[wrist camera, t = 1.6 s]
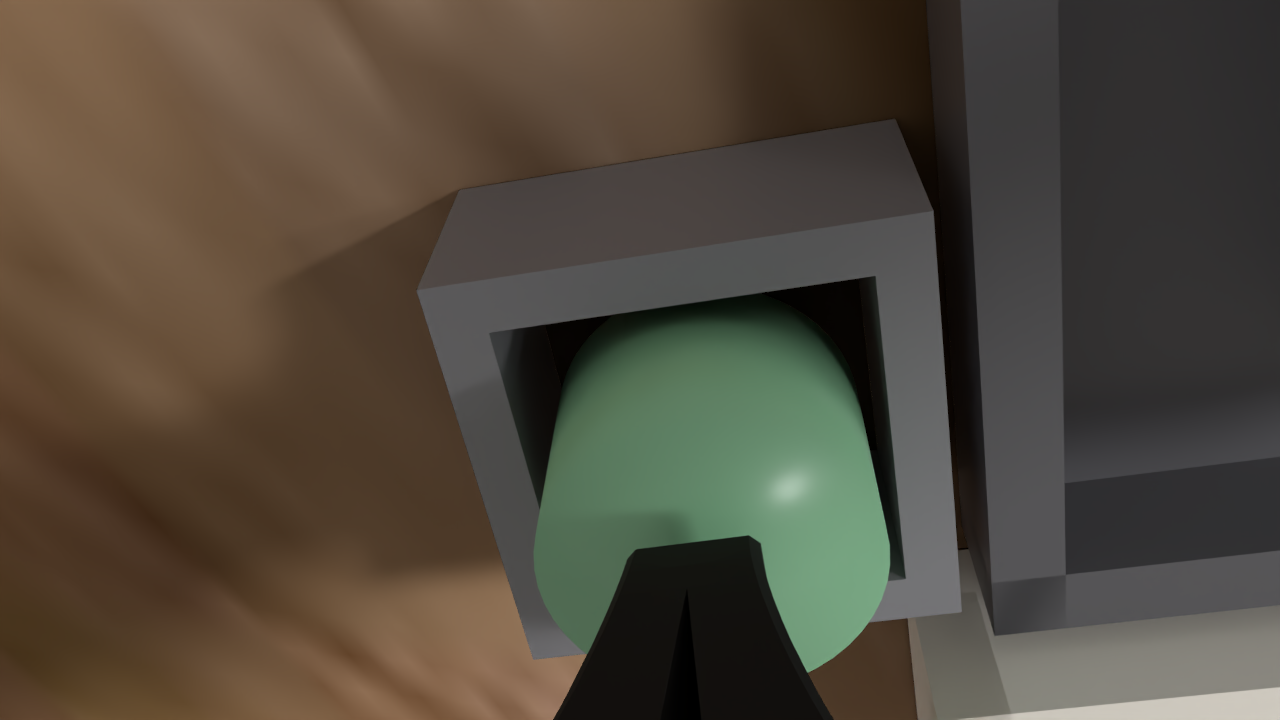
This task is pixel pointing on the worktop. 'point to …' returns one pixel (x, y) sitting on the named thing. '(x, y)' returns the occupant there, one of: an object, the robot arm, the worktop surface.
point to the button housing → (687, 273)
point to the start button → (714, 465)
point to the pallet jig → (1096, 666)
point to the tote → (1112, 302)
